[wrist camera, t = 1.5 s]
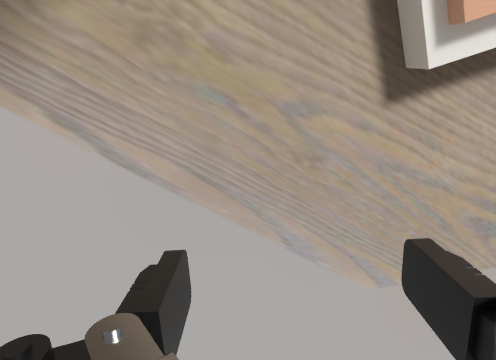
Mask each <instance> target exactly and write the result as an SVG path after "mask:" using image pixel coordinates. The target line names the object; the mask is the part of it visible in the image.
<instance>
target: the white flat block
mask: <svg viewBox="0 0 496 360" xmlns="http://www.w3.org/2000/svg"><path fill="white" fill-rule="evenodd" d="M397 5H398V12H399V20H400V27H401V35H402V42H403V50H404V57H405V65H406V68H416V69H432V68H435V67H438V66H441V65H444V64H447V63H450V62H453V61H456V60H459V59H462V58H465V57H468V56H471V55H474V54H477V53H480V52H483V51H486V50H490V49H493V48H496V13H493V14H490V15H487V16H484V17H481V18H478V19H475V20H472V21H469V22H466V23H460V24H453V25H449V20H448V8H447V0H397Z"/></svg>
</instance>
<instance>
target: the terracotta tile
mask: <svg viewBox="0 0 496 360" xmlns="http://www.w3.org/2000/svg"><path fill="white" fill-rule="evenodd" d="M447 8H448V20H449V25H453V24H460V23H466V22H469V21H472V20H475V19H478V18H481V17H484V16H487V15H490V14H493V13H496V0H447Z"/></svg>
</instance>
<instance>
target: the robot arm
mask: <svg viewBox="0 0 496 360" xmlns="http://www.w3.org/2000/svg"><path fill="white" fill-rule="evenodd" d="M402 286H403V289H404V292H405V294H406V296H407V297H408V299H409V300H410V301H411V302H412V304H413V305H414V306H415V308H416V309H417V310H418V312H419V313H420V314H421V315H422V316H423V318H424V319H425V321H426V322H427V323H428V324H429V326H430V327H431V328H432V330H433V331H434V332H435V333H436V335H437V336H438V337H439V339H440V340H441V341H442V342H443V344H444V345H445V346H446V348H447V349H448V350H449V352H450V353H451V354H452V355H453V357H454V358H455V359H456V360H496V284H495V283H494V282H493V281H491V280H490V279H489V278H487V277H486V276H485V275H482V273H481V272H480V271H478V270H477V269H476V268H473V266H472V265H471V264H469V263H468V262H467V261H466V260H464V259H463V258H461V257H459V256H457V255H455V254H452V253H450V252H448V251H445V250H444V249H443V248H441V247H440V246H439V245H438V244H436V243H435V242H434V241H433V240H431V239H429V238H424V239H408V240H406V241H405V244H404V252H403V266H402ZM190 303H191V283H190V275H189V267H188V257H187V252H186V250H174V251H173V250H172V251H165V252H164V253H163V255H162V257H161V259H160V261H159V263H158V264H157V265H150V266H148V267H147V268H146V269H144V270H143V271H142V272H140V274H139V275H138V277H137V279H136V280H135V283H134V284H133V285H132V287H131V288H130V291H129V292H128V293H127V295H126V297H125V298H124V300H123V302H122V303H121V305H120V307H119V308H118V310H117V311H116V313H115V314H114V315H110V316H108V317H105V318H103V319H102V320H100V321H98V322H97V323H95V324H94V325H93V326H92V327H91V328H90V329H89V330H88V331H87V333H86V335H85V339H84V340H81V341H78V342H74V343H71V344H67V345H63V346H59V347H56V348H52V346H51V342H50V339H49V338H48V337H47V336H45V335H42V334H32V335H27V336H23V337H20V338H17V339H15V340H13V341H10V342H8V343H6V344H5V345H3V346H1V347H0V360H179V359H178V358H177V357H176V354H177V350H178V347H179V343H180V340H181V336H182V332H183V329H184V325H185V322H186V318H187V315H188V311H189V307H190Z"/></svg>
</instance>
